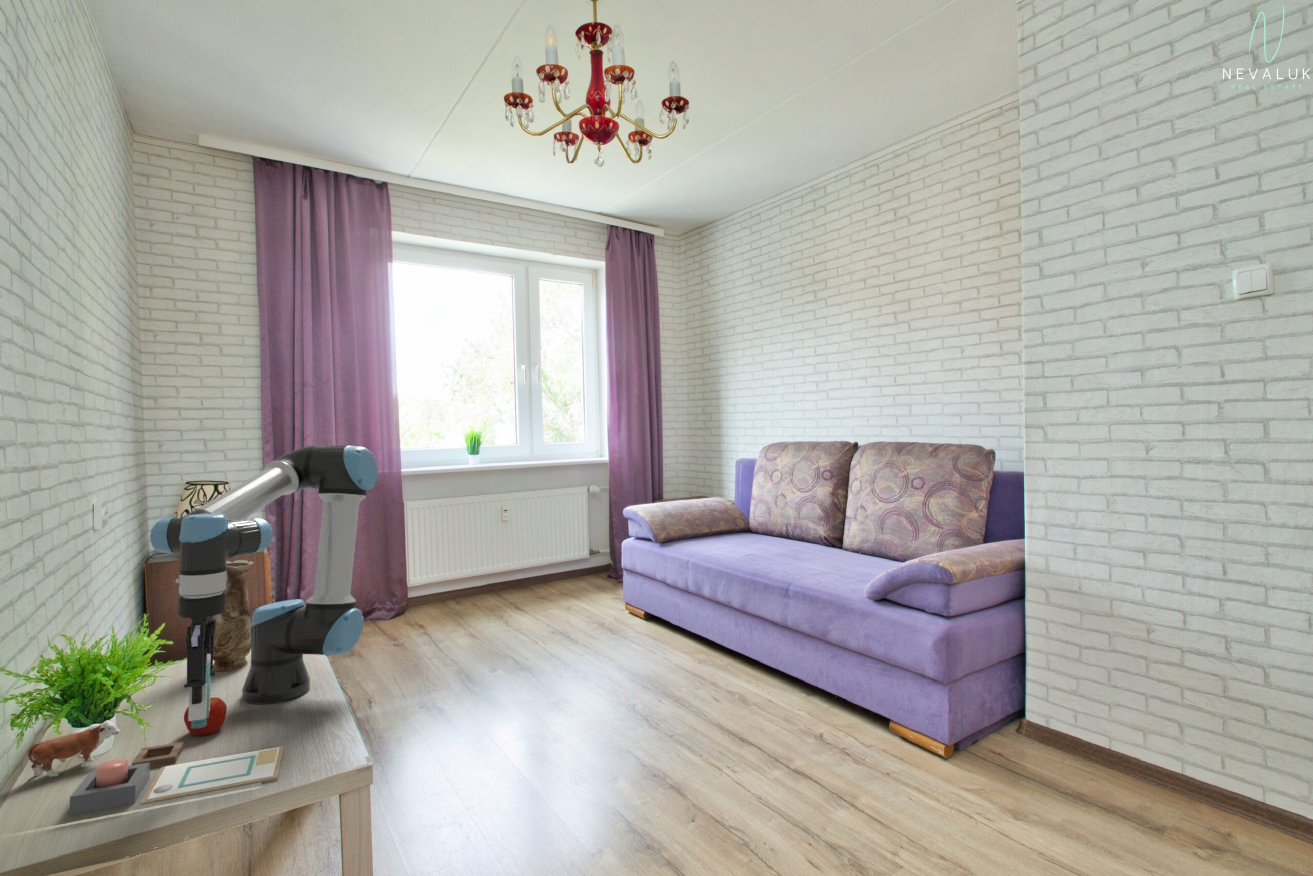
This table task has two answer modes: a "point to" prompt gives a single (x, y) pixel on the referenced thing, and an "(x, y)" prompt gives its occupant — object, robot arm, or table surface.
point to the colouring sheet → (215, 774)
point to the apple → (209, 718)
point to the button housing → (109, 791)
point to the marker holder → (159, 755)
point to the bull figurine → (69, 747)
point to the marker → (203, 722)
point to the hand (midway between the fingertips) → (199, 715)
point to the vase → (233, 620)
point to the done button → (111, 773)
